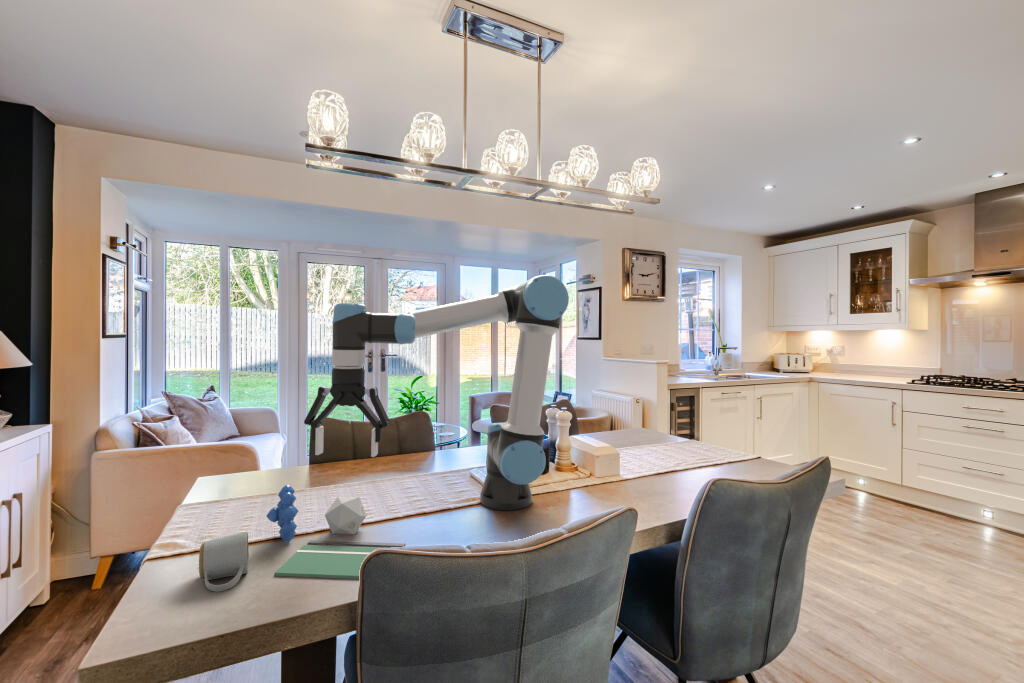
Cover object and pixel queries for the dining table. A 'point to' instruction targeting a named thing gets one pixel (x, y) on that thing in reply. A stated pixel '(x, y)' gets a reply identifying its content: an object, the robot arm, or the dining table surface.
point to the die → (345, 515)
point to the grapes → (285, 513)
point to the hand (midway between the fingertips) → (346, 454)
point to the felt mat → (325, 562)
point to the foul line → (356, 543)
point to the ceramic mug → (224, 560)
